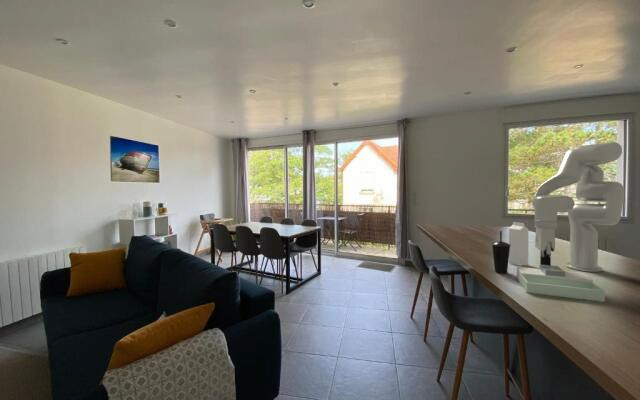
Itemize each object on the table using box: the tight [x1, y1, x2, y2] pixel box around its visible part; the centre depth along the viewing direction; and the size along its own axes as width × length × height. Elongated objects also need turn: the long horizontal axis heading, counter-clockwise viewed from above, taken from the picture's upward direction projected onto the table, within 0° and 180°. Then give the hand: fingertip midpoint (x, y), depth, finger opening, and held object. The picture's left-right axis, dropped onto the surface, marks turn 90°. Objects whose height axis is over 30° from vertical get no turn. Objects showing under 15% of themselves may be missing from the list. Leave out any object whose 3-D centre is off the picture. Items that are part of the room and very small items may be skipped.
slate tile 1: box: [539, 264, 562, 272], centre depth 111 cm, size 4×6×2 cm, turn 63°
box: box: [520, 276, 606, 303], centre depth 101 cm, size 9×22×4 cm, turn 63°
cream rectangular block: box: [516, 266, 594, 283], centre depth 109 cm, size 9×22×5 cm, turn 63°
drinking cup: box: [491, 230, 511, 274], centre depth 126 cm, size 8×8×20 cm
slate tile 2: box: [543, 268, 565, 277], centre depth 107 cm, size 4×6×2 cm, turn 63°
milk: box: [508, 221, 529, 267], centre depth 138 cm, size 6×6×22 cm
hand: (545, 265), depth 116 cm, fingers closed
